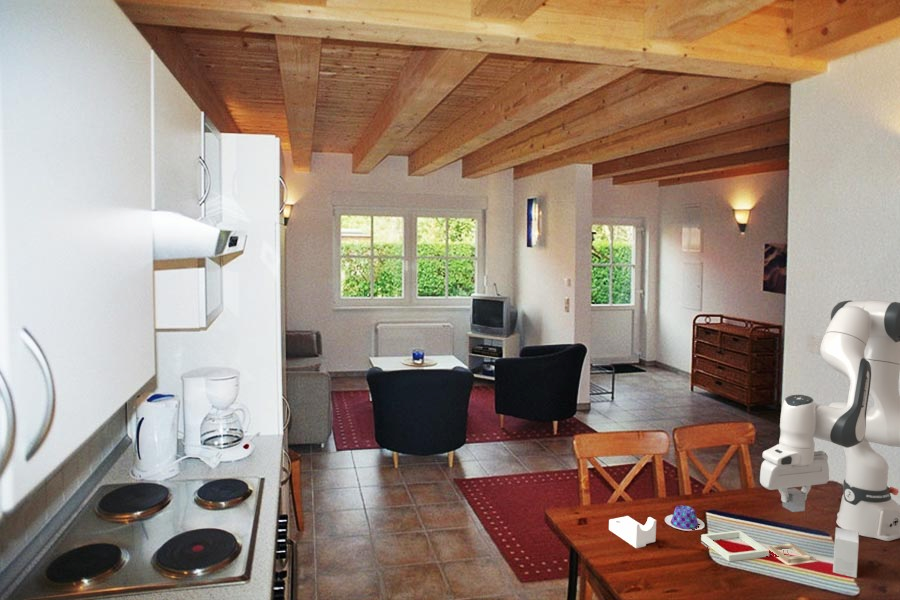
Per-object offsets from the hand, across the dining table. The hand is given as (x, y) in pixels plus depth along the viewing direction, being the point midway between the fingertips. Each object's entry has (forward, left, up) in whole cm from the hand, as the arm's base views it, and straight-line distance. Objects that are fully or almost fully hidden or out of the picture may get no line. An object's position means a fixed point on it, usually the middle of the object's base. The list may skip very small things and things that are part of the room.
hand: (793, 500), depth 185 cm
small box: (-9, +10, -17) cm, 22 cm away
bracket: (+38, -22, -17) cm, 47 cm away
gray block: (0, 0, -2) cm, 2 cm away
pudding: (+17, -26, -17) cm, 36 cm away
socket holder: (0, 0, -17) cm, 17 cm away
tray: (+13, -7, -17) cm, 22 cm away
